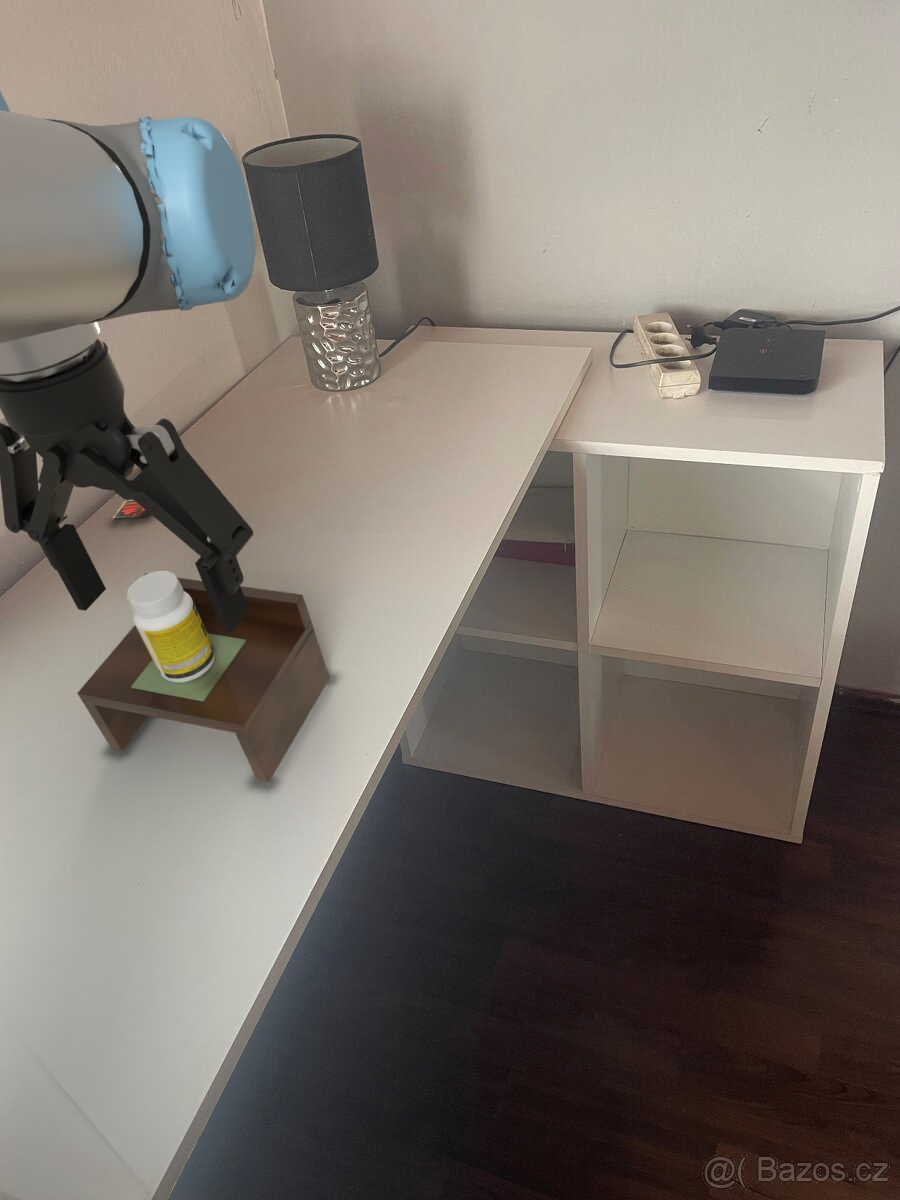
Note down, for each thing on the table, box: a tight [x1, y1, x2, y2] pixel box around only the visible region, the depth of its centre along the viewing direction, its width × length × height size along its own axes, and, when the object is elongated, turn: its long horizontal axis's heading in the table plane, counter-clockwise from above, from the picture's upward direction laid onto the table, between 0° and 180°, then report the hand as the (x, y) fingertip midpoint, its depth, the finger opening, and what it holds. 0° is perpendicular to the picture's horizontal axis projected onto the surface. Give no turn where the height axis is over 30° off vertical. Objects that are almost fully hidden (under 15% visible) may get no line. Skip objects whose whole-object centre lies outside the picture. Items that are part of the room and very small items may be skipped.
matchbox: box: [111, 500, 151, 522], centre depth 105 cm, size 5×5×1 cm
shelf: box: [76, 572, 330, 783], centre depth 74 cm, size 12×16×10 cm
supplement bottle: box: [126, 570, 215, 683], centre depth 69 cm, size 5×5×8 cm
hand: (162, 609), depth 68 cm, fingers open, 13 cm apart
